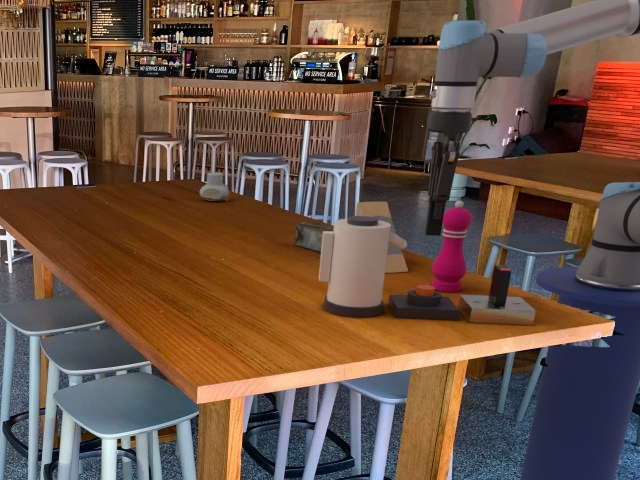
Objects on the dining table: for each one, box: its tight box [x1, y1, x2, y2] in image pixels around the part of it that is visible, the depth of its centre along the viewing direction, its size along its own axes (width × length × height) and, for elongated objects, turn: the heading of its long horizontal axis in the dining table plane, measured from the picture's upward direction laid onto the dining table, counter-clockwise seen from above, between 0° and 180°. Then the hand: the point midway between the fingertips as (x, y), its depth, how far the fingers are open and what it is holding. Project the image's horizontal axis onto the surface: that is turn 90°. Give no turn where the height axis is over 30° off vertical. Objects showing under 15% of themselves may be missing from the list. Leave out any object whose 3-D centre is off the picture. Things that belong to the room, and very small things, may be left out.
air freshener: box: [199, 172, 230, 202], centre depth 297 cm, size 11×8×10 cm
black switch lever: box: [488, 264, 512, 306], centre depth 159 cm, size 5×2×7 cm, turn 171°
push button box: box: [388, 289, 460, 321], centre depth 164 cm, size 12×10×4 cm
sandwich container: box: [355, 201, 409, 274], centre depth 200 cm, size 9×15×15 cm, turn 11°
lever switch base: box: [457, 294, 537, 326], centre depth 161 cm, size 12×10×3 cm
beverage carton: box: [294, 221, 334, 253], centre depth 217 cm, size 8×19×7 cm, turn 28°
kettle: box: [318, 215, 408, 319], centre depth 163 cm, size 17×12×19 cm
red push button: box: [415, 284, 436, 296], centre depth 163 cm, size 4×4×2 cm
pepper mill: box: [431, 200, 473, 293], centre depth 178 cm, size 7×7×20 cm
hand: (432, 234), depth 158 cm, fingers closed
